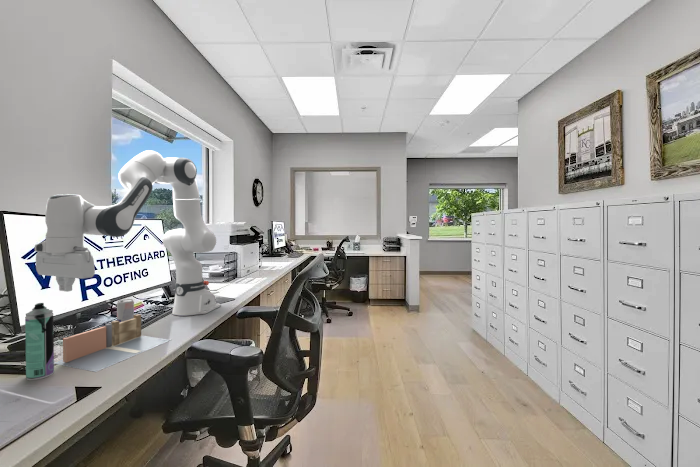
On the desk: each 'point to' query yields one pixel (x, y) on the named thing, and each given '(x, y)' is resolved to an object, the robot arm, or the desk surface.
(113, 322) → the fixed fence section
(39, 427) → the desk surface
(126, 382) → the desk surface
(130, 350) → the card
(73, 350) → the hinged fence panel
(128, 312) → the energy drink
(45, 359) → the spray can
